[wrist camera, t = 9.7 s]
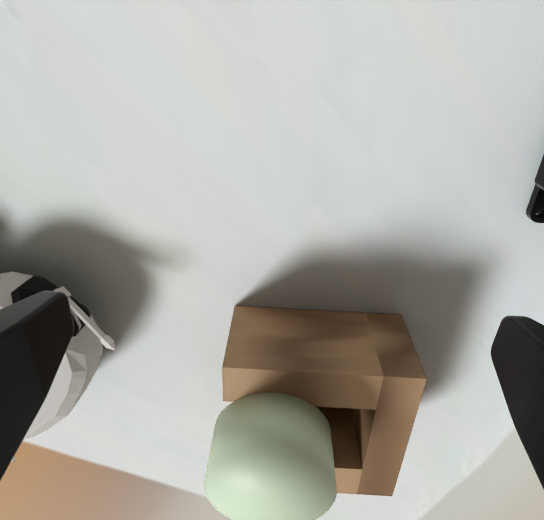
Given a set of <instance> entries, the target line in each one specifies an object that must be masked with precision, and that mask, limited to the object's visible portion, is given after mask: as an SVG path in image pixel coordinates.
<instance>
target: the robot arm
mask: <svg viewBox="0 0 544 520" xmlns="http://www.w3.org/2000/svg"><path fill="white" fill-rule="evenodd" d="M535 183H536V184H535V187H534V190H533V193H532V196H531V198H530V201H529V204H528V207H527V210H526V214H527V217H529V218H530V219H531V220H532V221H534V222H537V223H544V156H543V158H542V161H541V164H540V167H539V170H538V172H537V175H536V178H535ZM540 208H542V211H541V213H539V214H537V215H536V212H537V210H539V209H540ZM73 332H74V322H73V318H72V313H71V309H70V305H69V301H68V297H67V295H66V294H65V293H64V292H61V291H42V292H39V293H37V294H35V295H32V296H30V297H28V298H25V299H23V300H21V301H18V302H16V303H14V304H11V305H9V306H7V307H5V308H2V309H0V480H1V478H2V476H3V475H4V473H5V471H6V469H7V467H8V466H9V464H10V462H11V460H12V459H13V457H14V455H15V453H16V451H17V449H18V448H19V446H20V444H21V442H22V441H23V439H24V437H25V435H26V433H27V432H28V430H29V428H30V426H31V425H32V423H33V421H34V419H35V417H36V416H37V414H38V412H39V410H40V408H41V406H42V404H43V403H44V401H45V399H46V397H47V394H48V392H49V390H50V388H51V386H52V383H53V381H54V378H55V376H56V374H57V371H58V369H59V367H60V364H61V362H62V360H63V357H64V355H65V352H66V350H67V348H68V345H69V343H70V341H71V338H72V336H73ZM491 357H492V361H493V364H494V367H495V370H496V373H497V376H498V379H499V382H500V385H501V388H502V391H503V394H504V397H505V400H506V403H507V406H508V409H509V411H510V414H511V417H512V420H513V422H514V425H515V428H516V430H517V432H518V435H519V437H520V439H521V441H522V443H523V446H524V448H525V450H526V452H527V454H528V456H529V459H530V461H531V463H532V465H533V467H534V469H535V472H536V474H537V476H538V478H539V480H540V482H541V485H542V487H543V489H544V325H542V324H540V323H538V322H536V321H534V320H532V319H531V318H528V317H525V316H506V317H504V318H503V319H502V321H501V323H500V326H499V329H498V331H497V334H496V336H495V339H494V342H493V344H492V348H491Z"/></svg>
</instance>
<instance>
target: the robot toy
mask: <svg viewBox="0 0 544 520" xmlns="http://www.w3.org/2000/svg"><path fill="white" fill-rule="evenodd" d="M42 291H61V292H64V293H65V294H66V295H67V297H68V301H69V305H70V309H71V313H72V318H73V322H74V332H73V336H72V338H71V341H70V343H69V345H68V348H67V350H66V352H65V355H64V357H63V360H62V362H61V364H60V367H59V369H58V371H57V374H56V376H55V378H54V381H53V383H52V386H51V388H50V390H49V392H48V394H47V397H46V399H45V401H44V403H43V404H42V406H41V408H40V410H39V412H38V414H37V416H36V417H35V419H34V421H33V423H32V425H31V426H30V428H29V430H28V432H27V433H26V435H25V437H24V439H26V438H30V437H33V436H35V435H37V434H39V433H41V432H43V431H45V430H47V429H49V428H50V427H52V426H53V425H54V424H56V423H57V422H59V421H60V420H61V419H63V418H64V417H66V416H67V415H68V414H69V413H70V411H71V410H72V409H73V407H74V406H75V404H76V403H77V401H78V400H79V398H80V397H81V396H82V394H83V393H84V391H85V390H86V388H87V386H88V384H89V383H90V381H91V379H92V377H93V376H94V374H95V372H96V370H97V368H98V365H99V363H100V360H101V357H102V352H103V345H104V346H105V347H106V348H107V349H112V350H116V348H115V342H114V341H113V340H112V339H111V338H110V337H109V335H106V334H105V333H104V332H103V331H102V330H101V329H100V328H99V327H98V326H97V324H96V322H95V320H94V318H93V316H92V315H91V314H90V313H89V311H88V310H87V308H86V307H85V306H83V305H82V304H80V303H79V302H78V301H77V300H75V299H74V298H72V297H71V294H70V293H69V291H68V290H67V289H66V288H65V287H64V286H62V287H60V288H58V287H57V286H55V285H54V284H52V283H51V282H49V281H48V280H46V279H45V278H41V277H38V276H33V275H28V274H23V273H18V272H13V271H11V272H6V273H0V309H2V308H5V307H7V306H9V305H11V304H14V303H16V302H18V301H21V300H23V299H25V298H28V297H30V296H32V295H35V294H37V293H39V292H42ZM11 461H13V462H15V455H14V457H13V459H12V460H11Z"/></svg>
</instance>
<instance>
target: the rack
mask: <svg viewBox="0 0 544 520" xmlns="http://www.w3.org/2000/svg"><path fill="white" fill-rule="evenodd" d="M222 374H223V401H231V402H234V401H236V400H238V399H240V398H243V397H246V396H249V395H253V394H258V393H282V394H288V395H292V396H295V397H298V398H301V399H303V400H306V401H307V402H309V403H311V404H312V405H314V406H315V407H317V408H318V409H319V410H320V411H321V412H322V413H323V414H324V416H325V417H326V419H327V421H328V422H329V425H330V430H331V438H332V448H333V458H334V467H335V477H336V486H337V493H347V494H364V495H381V496H392V495H393V491H394V488H395V485H396V481H397V478H398V475H399V471H400V468H401V464H402V461H403V458H404V454H405V451H406V448H407V444H408V441H409V437H410V434H411V431H412V427H413V424H414V421H415V417H416V414H417V410H418V407H419V404H420V400H421V397H422V394H423V390H424V387H425V383H426V380H427V378H426V375H425V373H424V370H423V368H422V365H421V363H420V361H419V358H418V356H417V353H416V351H415V348H414V346H413V343H412V341H411V338H410V336H409V333H408V331H407V328H406V326H405V323H404V321H403V318H402V316H401V315H396V314H378V313H359V312H341V311H322V310H304V309H285V308H267V307H248V306H235V307H234V312H233V317H232V322H231V327H230V332H229V337H228V342H227V347H226V352H225V357H224V362H223V367H222Z"/></svg>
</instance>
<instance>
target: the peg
mask: <svg viewBox="0 0 544 520" xmlns="http://www.w3.org/2000/svg"><path fill="white" fill-rule="evenodd" d="M204 489H205V493H206V496H207V498H208V500H209V501H210V503H211V504H212V505H213V506H214V507H215V508H216V509H217V510H218V511H219V512H221V513H222V514H223V515H225V516H226V517H228V518H230V519H232V520H315V519H317V518H319V517H320V516H322V515H323V514H324V513H325V512H327V511H328V510H329V508H330V507H331V506H332V504H333V503H334V501H335V498H336V494H337V486H336V477H335V467H334V458H333V448H332V438H331V430H330V425H329V422H328V421H327V419H326V417H325V416H324V414H323V413H322V412H321V411H320V410H319V409H318V408H317V407H315V406H314V405H312V404H311V403H309V402H307V401H306V400H303V399H301V398H298V397H295V396H292V395H288V394H282V393H258V394H253V395H249V396H246V397H243V398H240V399H238V400H236V401H234V402H232V403H231V404H229V405H228V406H227V407H226V408H225V409H224V410H223V411H222V412H221V413H220V415H219V416H218V418H217V421H216V424H215V429H214V434H213V439H212V444H211V450H210V455H209V460H208V465H207V471H206V476H205V481H204Z"/></svg>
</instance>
